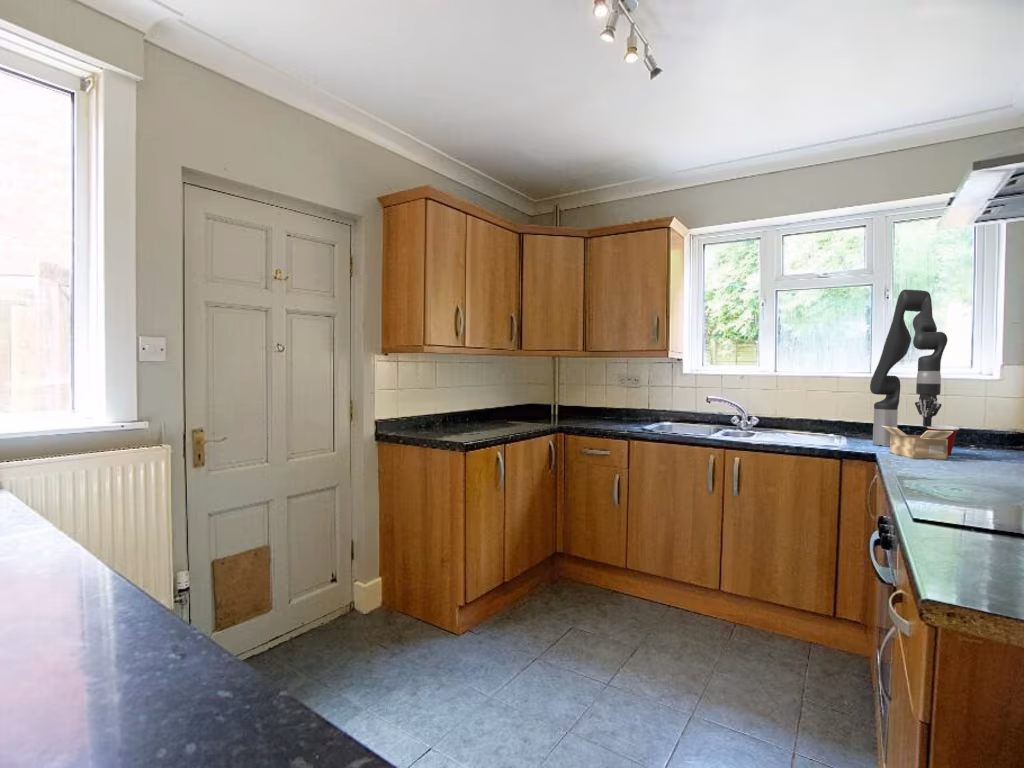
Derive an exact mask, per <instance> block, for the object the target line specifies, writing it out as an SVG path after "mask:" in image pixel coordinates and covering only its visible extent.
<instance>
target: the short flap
mask: <svg viewBox="0 0 1024 768" xmlns="http://www.w3.org/2000/svg"><path fill="white" fill-rule="evenodd" d="M952 433H953V431H928V430H926V431H924V432H923V433H922V434H921V436H920V438H942V439H946V438H947V437H948V436H950V435H951V434H952Z"/></svg>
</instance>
